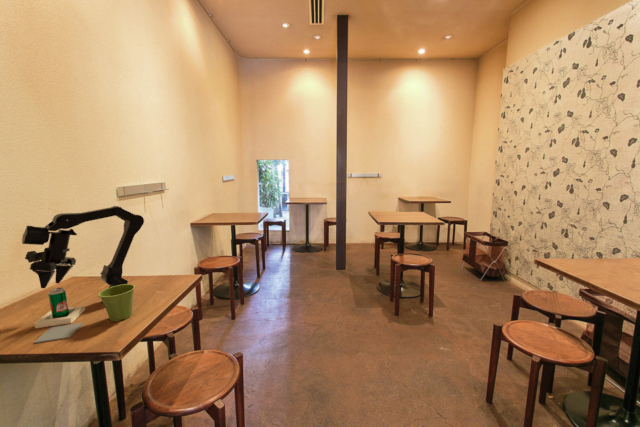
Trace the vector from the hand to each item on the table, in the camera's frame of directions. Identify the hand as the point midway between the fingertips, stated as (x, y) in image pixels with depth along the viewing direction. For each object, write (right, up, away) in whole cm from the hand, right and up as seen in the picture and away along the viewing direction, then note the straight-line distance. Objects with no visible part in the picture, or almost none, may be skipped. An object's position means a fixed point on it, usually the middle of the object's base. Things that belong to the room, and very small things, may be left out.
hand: (50, 285), depth 116 cm
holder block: (+3, -13, +1) cm, 14 cm away
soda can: (+3, -13, +1) cm, 14 cm away
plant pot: (+27, -13, +1) cm, 30 cm away
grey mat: (+12, -15, -10) cm, 21 cm away
